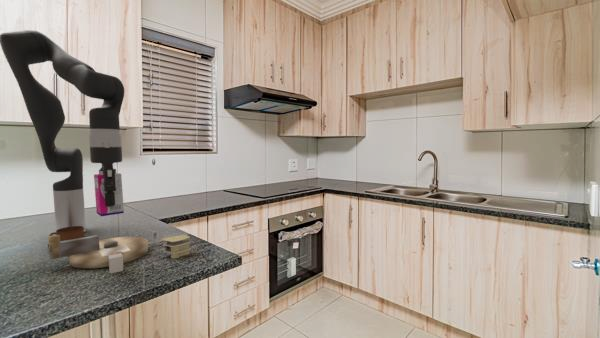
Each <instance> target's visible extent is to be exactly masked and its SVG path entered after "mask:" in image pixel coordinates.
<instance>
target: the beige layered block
mask: <svg viewBox="0 0 600 338" xmlns="http://www.w3.org/2000/svg"><path fill="white" fill-rule="evenodd" d="M189 238H191V237H190V236H189V235H187V234H181V235H175V236H168V237H164V238H163V239H162V241H165V242H164V243H162V245H163V246H164V249H163V252H164V253H168V254H170V259H178V258H180V257H183V256H187V255H191V249H192V248H191V247H190V244H191V243H192V241H191V240H189Z"/></svg>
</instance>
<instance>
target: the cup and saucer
mask: <svg viewBox="0 0 600 338" xmlns="http://www.w3.org/2000/svg"><path fill="white" fill-rule="evenodd" d="M52 235H60V241H66V240H71V239H77V238H83V237H89V236H90V235H85V232H84V227H83V226H72V227H65V228H61V229H58V230H56V229H55V231H54V232H51V233H50V234H49V235H48V237H49V236H52ZM47 248H49V243H48V244H47Z"/></svg>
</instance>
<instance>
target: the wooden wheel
mask: <svg viewBox="0 0 600 338" xmlns="http://www.w3.org/2000/svg"><path fill="white" fill-rule="evenodd" d="M88 236H89V237H83V238H77V239H71V240H66V241H60V235H56V234H53V235H52V236H49V235H48V244H49V247H48V250H49V251H48V252H49V259H50V260H55V259H60V258H61V259H62V258H64V257H65V258H66V257H69V265H70V266H71V267H73V268H76V269H99V268H102V269H103V268H106V267H107V268H109V258H108V256H109V255H113V254H114V253H116V254H119V253H122V256H123V264H125V263H129V262H131V261H134V260H137V259H139V258H141V257H143V256H144V255H146V254H147V253H148V251H149V241H148V239H146V238H144V237H142V236H118V237H110V238H105V239H100V236H99V235H98V234H95V235H88Z"/></svg>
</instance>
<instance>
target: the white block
mask: <svg viewBox="0 0 600 338" xmlns="http://www.w3.org/2000/svg"><path fill="white" fill-rule="evenodd" d="M108 258H109V266H108V270H109V273H110V274H115V273H118V272H123V271H124V263H123V256H122V253H119V254H116V253H114V254H113V255H109V256H108Z"/></svg>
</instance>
